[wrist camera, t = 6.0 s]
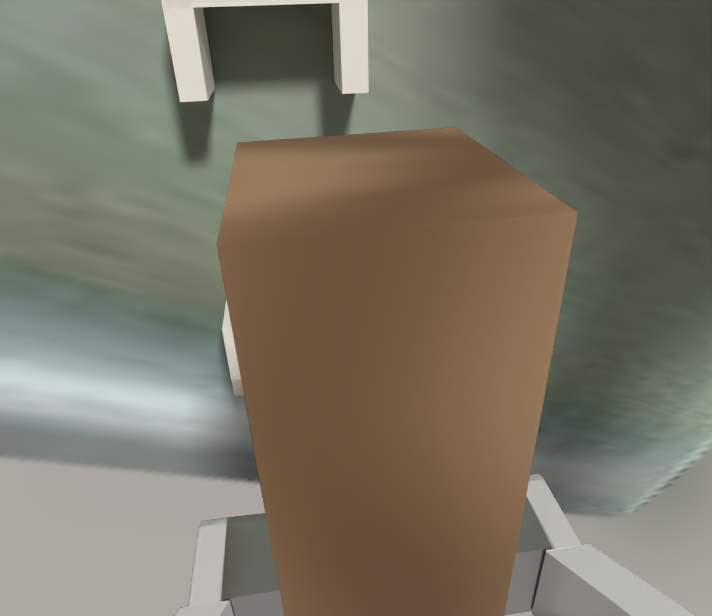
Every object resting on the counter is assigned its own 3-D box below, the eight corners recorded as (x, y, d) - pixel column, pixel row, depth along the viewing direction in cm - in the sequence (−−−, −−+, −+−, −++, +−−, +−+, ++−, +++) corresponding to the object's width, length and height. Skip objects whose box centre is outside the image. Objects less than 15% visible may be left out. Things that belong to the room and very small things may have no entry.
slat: (455, 126, 9) (577, 212, 5) (428, 618, 16) (472, 789, 12) (236, 142, 8) (216, 244, 5) (309, 637, 15) (321, 820, 12)
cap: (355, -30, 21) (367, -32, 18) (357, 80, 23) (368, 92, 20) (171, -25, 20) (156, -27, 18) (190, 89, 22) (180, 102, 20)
